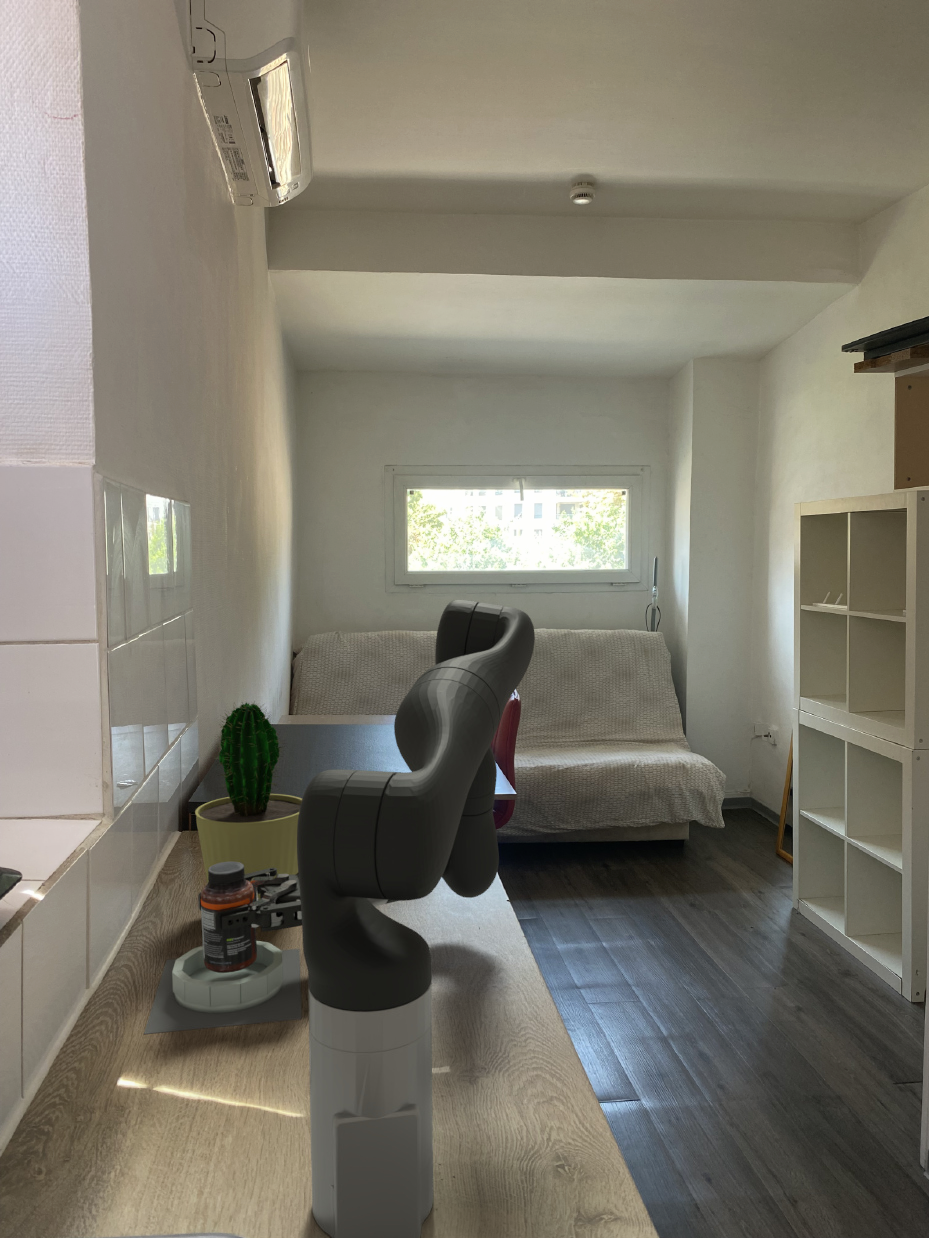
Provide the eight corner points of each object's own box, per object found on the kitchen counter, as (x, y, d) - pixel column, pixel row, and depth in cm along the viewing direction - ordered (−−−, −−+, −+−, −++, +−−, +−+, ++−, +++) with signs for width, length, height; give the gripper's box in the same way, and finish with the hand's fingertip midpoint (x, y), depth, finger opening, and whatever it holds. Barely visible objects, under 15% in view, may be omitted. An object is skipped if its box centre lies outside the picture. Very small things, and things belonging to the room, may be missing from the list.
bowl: (282, 1006, 100) (281, 980, 100) (167, 1017, 98) (167, 990, 98) (283, 960, 112) (282, 936, 112) (180, 968, 110) (180, 944, 110)
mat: (301, 1022, 98) (301, 1018, 98) (143, 1037, 95) (143, 1033, 95) (299, 951, 115) (299, 948, 115) (166, 962, 112) (166, 959, 112)
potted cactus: (321, 922, 125) (317, 703, 123) (203, 940, 119) (198, 710, 117) (298, 885, 139) (294, 688, 137) (192, 900, 133) (187, 694, 131)
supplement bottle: (236, 947, 109) (233, 854, 108) (267, 961, 105) (264, 864, 105) (192, 965, 105) (188, 868, 104) (224, 980, 101) (220, 879, 100)
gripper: (321, 837, 118) (189, 861, 109) (369, 869, 105) (223, 899, 97) (323, 894, 118) (191, 922, 110) (370, 933, 106) (226, 968, 97)
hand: (207, 911), depth 103 cm, fingers closed on supplement bottle, 6 cm apart
